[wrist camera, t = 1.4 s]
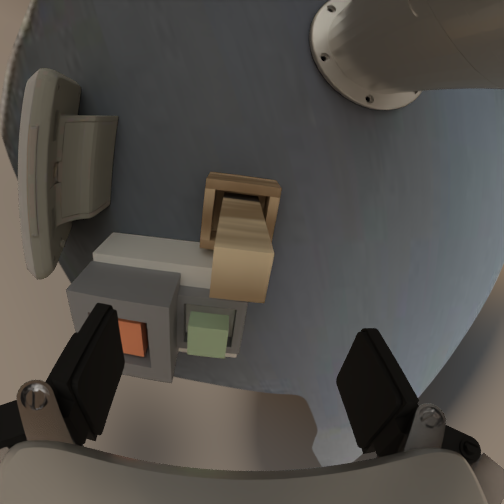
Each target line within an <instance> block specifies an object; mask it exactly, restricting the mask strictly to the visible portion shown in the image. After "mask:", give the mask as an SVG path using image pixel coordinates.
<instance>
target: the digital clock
mask: <svg viewBox="0 0 504 504" xmlns="http://www.w3.org/2000/svg"><path fill="white" fill-rule="evenodd" d="M80 96H81V87H80V85H79V84H78V83H76V82H75V81H74V80H72V79H70V78H68V77H66V76H64V75H62V74H61V73H59V72H57V71H55V70H52V69H48V68H41V69H39V70H38V71H37V72H36V73H35V74H34V75H33V76H32V77H31V78H30V79H29V80H28V81H27V84H26V88H25V93H24V99H23V106H22V113H21V122H20V134H19V151H18V195H19V212H20V224H21V234H22V242H23V249H24V255H25V261H26V266H27V269H28V270H29V271H30V273H31V274H32V275H33V276H34V277H35V278H36V279H44V278H46V277H48V276H49V275H50V274H51V273H52V272H53V271H54V269H55V267H56V265H57V262H58V260H59V257H60V255H61V252H62V250H63V247H65V242H66V240H67V237H68V235H69V233H70V230H71V228H72V221H73V220H77V219H87V218H91V217H93V216H95V215H97V214H98V213H99V212H101V211H102V210H103V209H105V208H106V207H108V206H109V205H110V199H111V181H112V168H113V156H114V147H115V138H116V130H117V123H118V116H101V115H78V109H79V102H80Z"/></svg>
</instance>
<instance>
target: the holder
mask: <svg viewBox="0 0 504 504" xmlns="http://www.w3.org/2000/svg"><path fill="white" fill-rule="evenodd" d="M281 189H282V188H281V187H280V185H279V184H278V183H277V181H276V180H270V179H263V178H256V177H249V176H242V175H234V174H226V173H217V172H210V173H209V175H208V177H207V178H206V187H205V196H204V205H203V215H202V225H201V236H200V248H204V249H213V250H214V245H215V239H216V234H217V228H218V223H219V217H220V212H221V207H222V201H223V196H224V192H229V193H237V194H244V195H252V196H258V198H259V201H260V205H261V208H262V212H263V215H264V219H265V222H266V226H267V229H268V233H269V236H270V240H271V243H272V238H273V232H274V227H275V222H276V216H277V211H278V206H279V200H280V195H281Z"/></svg>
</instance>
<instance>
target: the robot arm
mask: <svg viewBox="0 0 504 504" xmlns="http://www.w3.org/2000/svg"><path fill="white" fill-rule="evenodd" d="M328 10H330V11H331V12H329V11H328ZM309 41H310V49H311V52H312V56H313V59H314V61H315V63H316V65H317V67H318V69H319V71H320V72H321V74H322V75H323V77H324V78H325V80H326V81H327V82H328V83H329V84H330V85H331V86H332V87H333V88H334V89H335V90H336V91H337V92H338V93H340V94H341V95H342V96H344V97H345V98H346V99H348V100H350V101H352V102H354V103H355V104H358V105H360V106H363V107H366V108H370V109H376V110H392V109H399V108H401V107H404V106H407V105H408V104H410V103H411V102H413V101H414V100H415V99H416V98H417V97H418V96H419V95H420V94H421V92H422V91H425V90H440V89H468V88H484V89H504V0H330V1H328V2H326V3H325V4H324V5H323V6H322V7H321V8H320V9H319V11H318V12H317V13H316V15H315V16H314V19H313V21H312V23H311V27H310V33H309ZM320 57H323V58H324V59H325V61H322V60H321V58H320ZM366 97H367V99H368V101H366ZM124 365H125V359H124V353H123V348H122V342H121V336H120V329H119V322H118V315H117V311H116V310H115V309H113V307H112V305H109V304H103V303H97V304H96V305H95V307H94V308H93V310H92V311H91V313H90V314H89V316H88V317H87V319H86V321H85V322H84V324H83V325H82V327H81V329H80V330H79V332H76V333H74V334H73V335H72V337H71V339H70V340H69V342H68V344H67V345H66V347H65V349H64V350H63V352H62V354H61V356H60V357H59V359H58V361H57V362H56V364H55V366H54V368H53V369H52V371H51V373H50V375H49V377H48V378H47V380H46V382H44V381H41V380H31V381H28V382H26V383H24V384H23V385H22V386H21V387H20V389H19V390H18V393H17V400H15V401H12V402H9V403H6V404H3V405H0V504H501V502H502V500H503V498H504V469H503V468H502V467H501V466H499V465H498V464H497V463H496V462H494V461H493V460H492V459H491V458H490V457H488V456H487V455H486V454H485V453H483V454H482V455H481V449H480V445H479V443H478V442H477V441H476V440H475V439H474V438H473V437H471V436H468V435H466V434H464V433H462V432H460V431H458V430H456V429H453V428H451V427H449V426H447V425H446V418H445V415H444V413H443V412H442V410H441V409H440V408H439V407H437V406H435V405H433V404H423V405H420V406H418V404H417V403H418V401H419V400H418V398H417V396H416V394H415V392H414V391H413V389H412V387H411V385H410V383H409V382H408V380H407V378H406V376H405V375H404V373H403V371H402V369H401V368H400V366H399V364H398V363H397V361H396V359H395V357H394V356H393V354H392V352H391V351H390V349H389V347H388V346H387V344H386V342H385V341H384V339H383V337H382V336H381V334H380V333H379V331H378V330H377V329H376V328H364V329H362V330H361V332H358V333H357V335H356V338H355V340H354V342H353V344H352V346H351V349H350V351H349V353H348V355H347V357H346V359H345V361H344V363H343V366H342V368H341V370H340V372H339V374H338V376H337V379H336V383H337V386H338V389H339V392H340V395H341V398H342V401H343V404H344V407H345V409H346V412H347V415H348V418H349V421H350V424H351V427H352V430H353V433H354V436H355V439H356V442H357V445H358V447H359V448H362V451H363V454H365V453H370V452H375V451H376V454H377V457H376V458H374V459H369V460H364V461H358V462H353V463H347V464H341V465H334V466H326V467H318V468H308V469H296V470H280V471H227V470H210V469H198V468H189V467H180V466H173V465H166V464H160V463H154V462H148V461H142V460H138V459H132V458H128V457H124V456H119V455H114V454H111V453H107V452H103V451H99V450H95V449H91V448H87V447H84V446H83V444H84V443H85V441H86V439H90V440H93V441H96V438H97V435H101V434H102V432H103V429H104V426H105V423H106V419H107V416H108V413H109V410H110V407H111V404H112V401H113V398H114V395H115V392H116V389H117V386H118V383H119V381H120V377H121V375H122V372H123V369H124Z"/></svg>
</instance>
